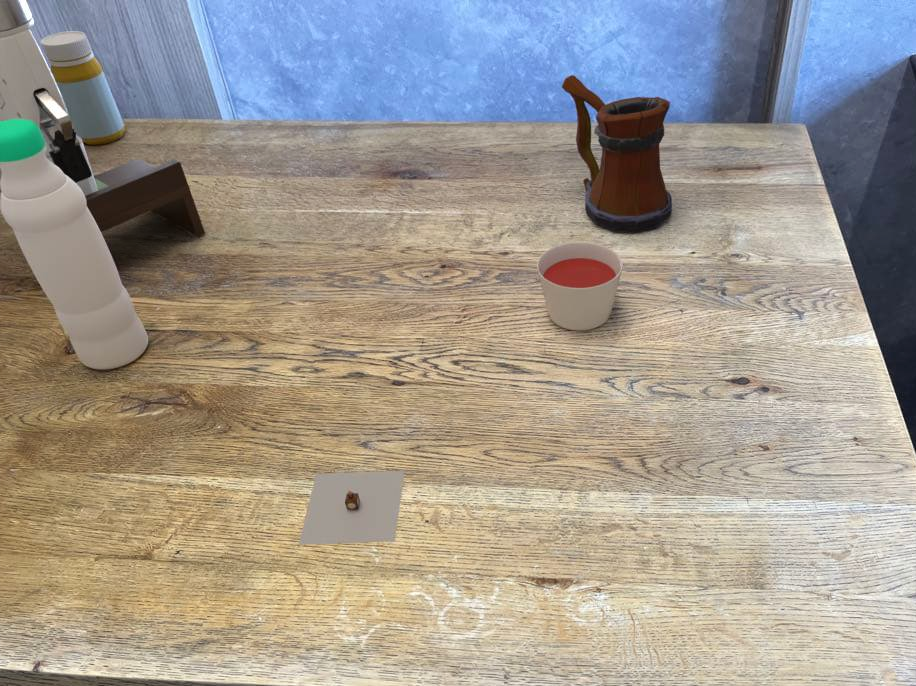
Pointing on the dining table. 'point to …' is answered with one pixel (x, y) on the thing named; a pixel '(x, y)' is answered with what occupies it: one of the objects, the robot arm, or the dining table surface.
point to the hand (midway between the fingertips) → (58, 168)
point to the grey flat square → (353, 508)
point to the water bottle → (66, 251)
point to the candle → (579, 283)
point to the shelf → (144, 196)
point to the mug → (623, 160)
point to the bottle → (83, 88)
